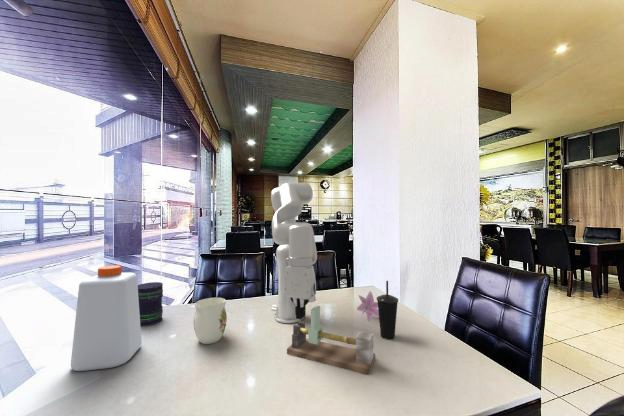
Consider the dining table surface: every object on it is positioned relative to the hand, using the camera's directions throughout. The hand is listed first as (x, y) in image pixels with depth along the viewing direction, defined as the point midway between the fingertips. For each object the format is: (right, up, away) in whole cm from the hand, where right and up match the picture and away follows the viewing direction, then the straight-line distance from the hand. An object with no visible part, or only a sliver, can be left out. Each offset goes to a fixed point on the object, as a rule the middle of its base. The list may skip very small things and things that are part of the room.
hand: (300, 317), depth 87 cm
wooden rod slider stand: (+9, -10, -5) cm, 15 cm away
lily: (+28, -11, +26) cm, 40 cm away
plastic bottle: (-59, -11, -5) cm, 60 cm away
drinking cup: (+31, -11, +8) cm, 34 cm away
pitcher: (-32, -11, +7) cm, 35 cm away
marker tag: (+5, -6, -2) cm, 8 cm away
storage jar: (-64, -11, +22) cm, 69 cm away
